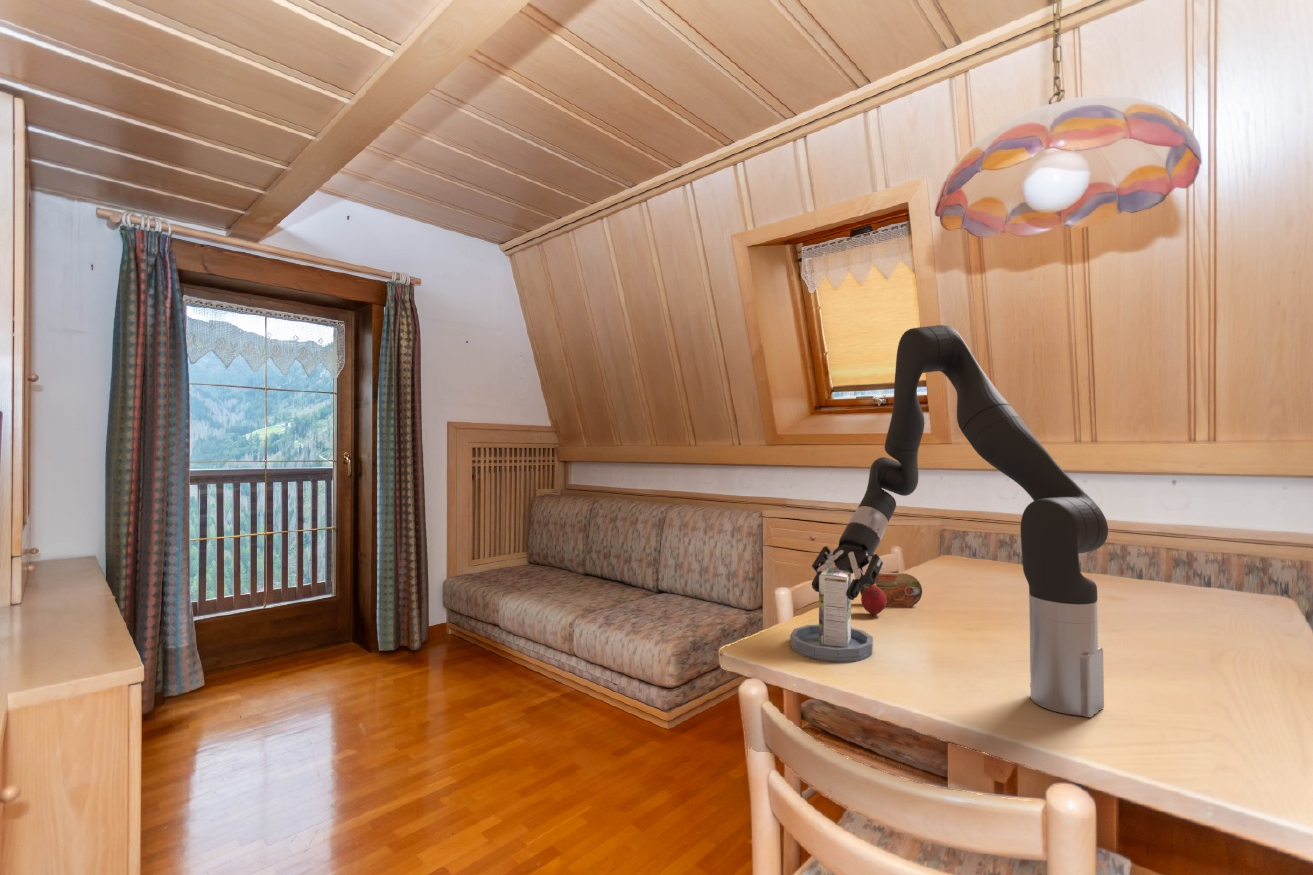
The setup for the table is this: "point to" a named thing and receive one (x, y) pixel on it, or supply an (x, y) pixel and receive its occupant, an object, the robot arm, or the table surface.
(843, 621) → the juice carton
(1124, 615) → the table surface
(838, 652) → the dish
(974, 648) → the table surface
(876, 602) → the onion
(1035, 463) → the robot arm
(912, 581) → the tin
